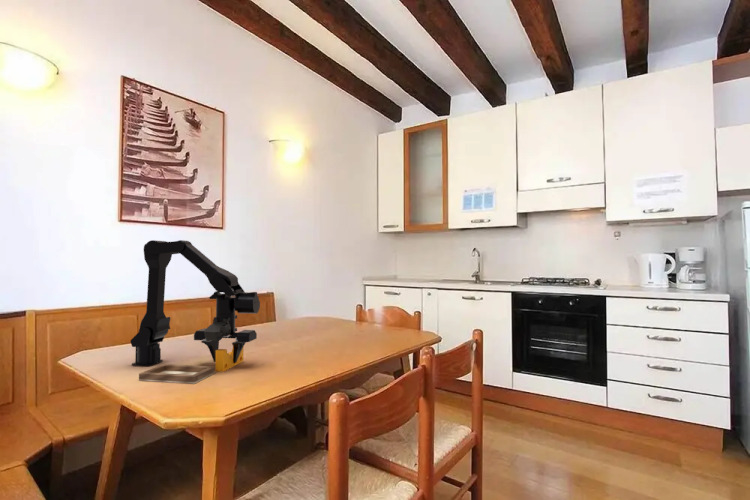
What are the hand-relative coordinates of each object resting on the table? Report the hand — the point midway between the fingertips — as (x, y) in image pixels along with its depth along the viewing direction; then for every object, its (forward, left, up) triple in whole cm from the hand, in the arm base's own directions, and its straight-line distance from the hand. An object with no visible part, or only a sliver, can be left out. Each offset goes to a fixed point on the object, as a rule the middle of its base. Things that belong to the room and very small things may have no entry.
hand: (225, 362), depth 124 cm
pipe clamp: (+1, 0, -2) cm, 2 cm away
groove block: (-7, -13, -1) cm, 15 cm away
